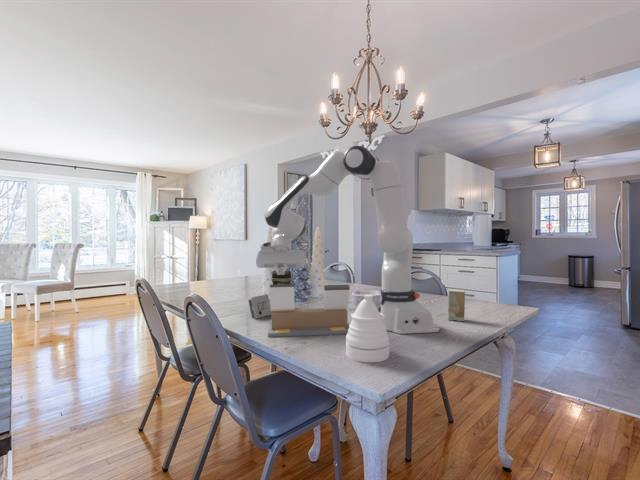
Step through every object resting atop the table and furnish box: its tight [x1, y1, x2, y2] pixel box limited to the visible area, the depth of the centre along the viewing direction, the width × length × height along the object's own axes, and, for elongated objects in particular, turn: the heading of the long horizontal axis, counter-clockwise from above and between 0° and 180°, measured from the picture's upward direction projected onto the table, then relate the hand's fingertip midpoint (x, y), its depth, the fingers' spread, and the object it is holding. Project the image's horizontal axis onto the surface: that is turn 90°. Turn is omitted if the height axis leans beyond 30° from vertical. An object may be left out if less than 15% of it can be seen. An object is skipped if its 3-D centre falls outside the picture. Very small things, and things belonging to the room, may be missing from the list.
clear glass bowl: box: [351, 289, 381, 310], centre depth 156 cm, size 15×15×8 cm
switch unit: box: [267, 307, 350, 338], centre depth 124 cm, size 30×14×7 cm, turn 96°
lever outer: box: [269, 283, 296, 311], centre depth 125 cm, size 9×2×9 cm, turn 96°
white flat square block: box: [323, 284, 351, 310], centre depth 123 cm, size 9×2×9 cm, turn 96°
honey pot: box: [345, 295, 390, 363], centre depth 99 cm, size 13×13×18 cm
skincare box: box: [447, 288, 466, 322], centre depth 136 cm, size 6×4×12 cm
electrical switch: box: [248, 294, 272, 320], centre depth 146 cm, size 9×5×9 cm, turn 141°
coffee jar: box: [271, 269, 293, 285], centre depth 159 cm, size 10×8×19 cm
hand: (280, 274), depth 134 cm, fingers closed
